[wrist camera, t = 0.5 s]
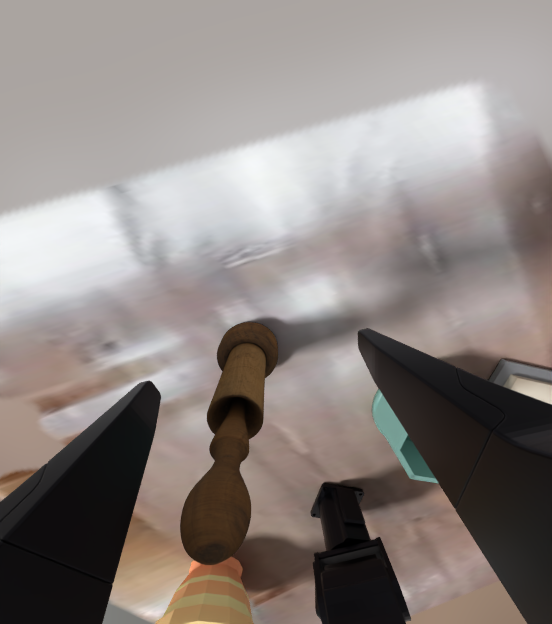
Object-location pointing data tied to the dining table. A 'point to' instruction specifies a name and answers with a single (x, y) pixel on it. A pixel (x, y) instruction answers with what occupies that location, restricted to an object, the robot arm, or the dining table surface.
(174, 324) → the dining table surface
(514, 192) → the dining table surface
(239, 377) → the brown wooden upright piece
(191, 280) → the dining table surface
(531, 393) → the lid
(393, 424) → the bowl
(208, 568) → the potted cactus
